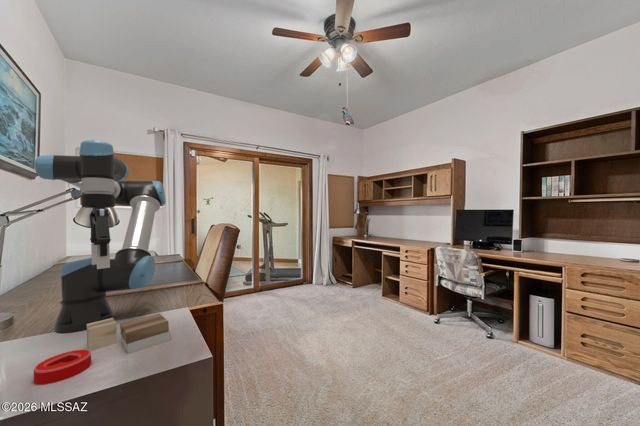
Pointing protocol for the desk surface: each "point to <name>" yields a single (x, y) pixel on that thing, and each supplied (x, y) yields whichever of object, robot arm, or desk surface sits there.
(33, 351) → the desk surface
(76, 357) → the decorative ornament
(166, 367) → the desk surface
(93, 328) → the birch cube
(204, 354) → the desk surface
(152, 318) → the slab top
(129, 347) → the slab bottom
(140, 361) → the desk surface
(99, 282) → the robot arm
